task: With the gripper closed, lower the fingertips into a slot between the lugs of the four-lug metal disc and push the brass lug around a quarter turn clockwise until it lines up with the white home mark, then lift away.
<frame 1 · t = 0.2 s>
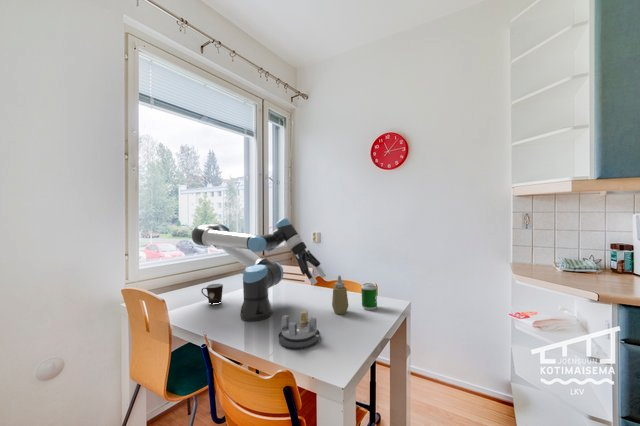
hand: (319, 280, 131), 15 cm above the table, tool tilted 35°, fingers open, 13 cm apart
soda can: (369, 308, 132), on the table
squeeze bottle: (340, 312, 128), on the table
coffee mug: (213, 303, 148), on the table
four-lug metal disc: (299, 325, 102), point 5 cm above the table, hinge at 0.0°
mounting flange: (299, 339, 102), on the table
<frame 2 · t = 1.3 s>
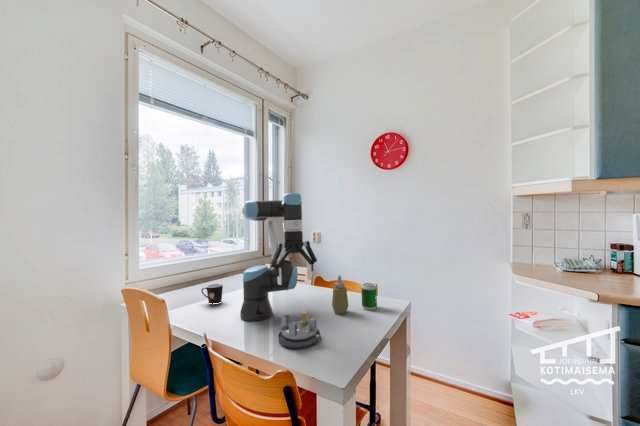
hand: (295, 281, 108), 21 cm above the table, tool pointing down, fingers open, 13 cm apart
nothing on the table moved.
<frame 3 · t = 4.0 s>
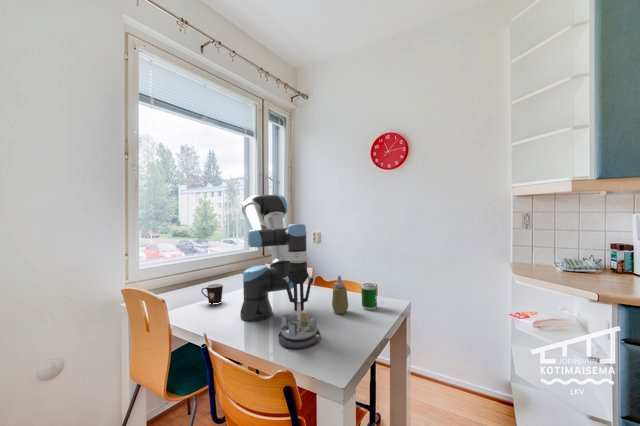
hand: (299, 318, 107), 6 cm above the table, tool pointing down, fingers closed
four-lug metal disc: (299, 325, 102), point 5 cm above the table, hinge at 0.0°, touching gripper
everything else where it was.
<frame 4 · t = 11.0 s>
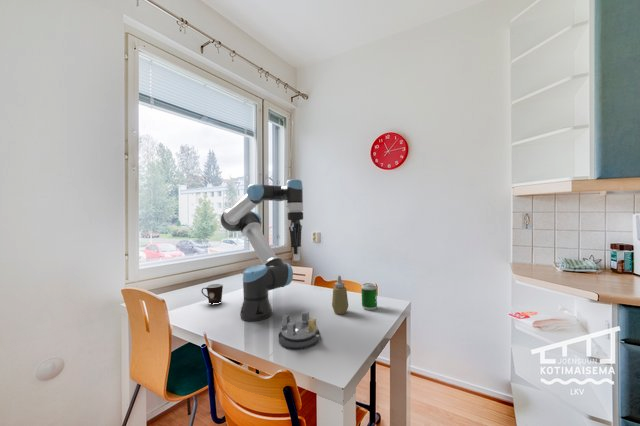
hand: (296, 260, 126), 26 cm above the table, tool pointing down, fingers closed
four-lug metal disc: (299, 325, 102), point 5 cm above the table, hinge at 95.6°
everything else where it was.
at the end: four-lug metal disc at +96° (first picture: +0°); soda can moved 0.2 cm from its start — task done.
